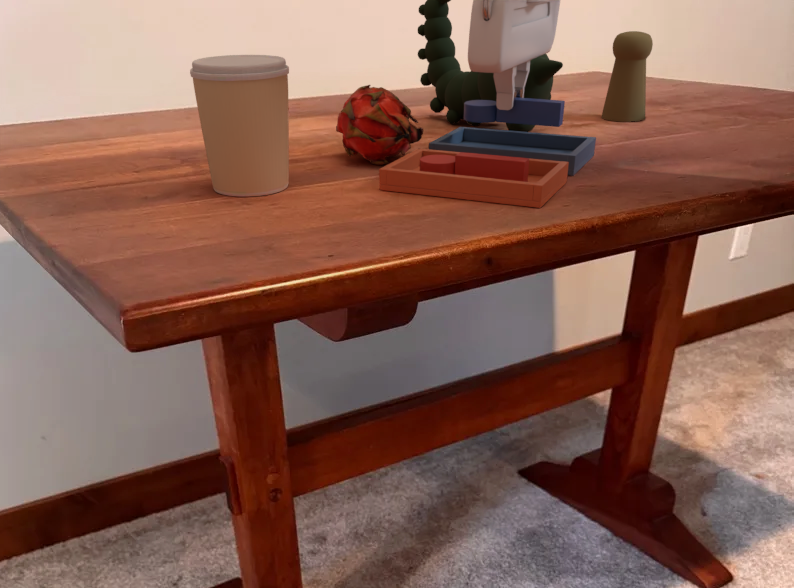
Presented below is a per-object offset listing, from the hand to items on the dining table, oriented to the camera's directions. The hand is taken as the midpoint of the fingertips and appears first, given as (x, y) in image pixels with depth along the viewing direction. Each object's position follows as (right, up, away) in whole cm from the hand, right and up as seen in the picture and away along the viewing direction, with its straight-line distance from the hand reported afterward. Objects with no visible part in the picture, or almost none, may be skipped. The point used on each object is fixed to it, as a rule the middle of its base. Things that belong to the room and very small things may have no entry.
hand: (509, 106), depth 89 cm
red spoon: (-5, -10, -8) cm, 14 cm away
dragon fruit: (-15, -5, +3) cm, 16 cm away
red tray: (-5, -11, -8) cm, 14 cm away
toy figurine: (0, +4, +19) cm, 20 cm away
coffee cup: (-28, -11, -7) cm, 31 cm away
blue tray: (+1, -5, +3) cm, 6 cm away
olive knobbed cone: (+20, +7, +24) cm, 32 cm away
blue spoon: (0, -2, +1) cm, 2 cm away
